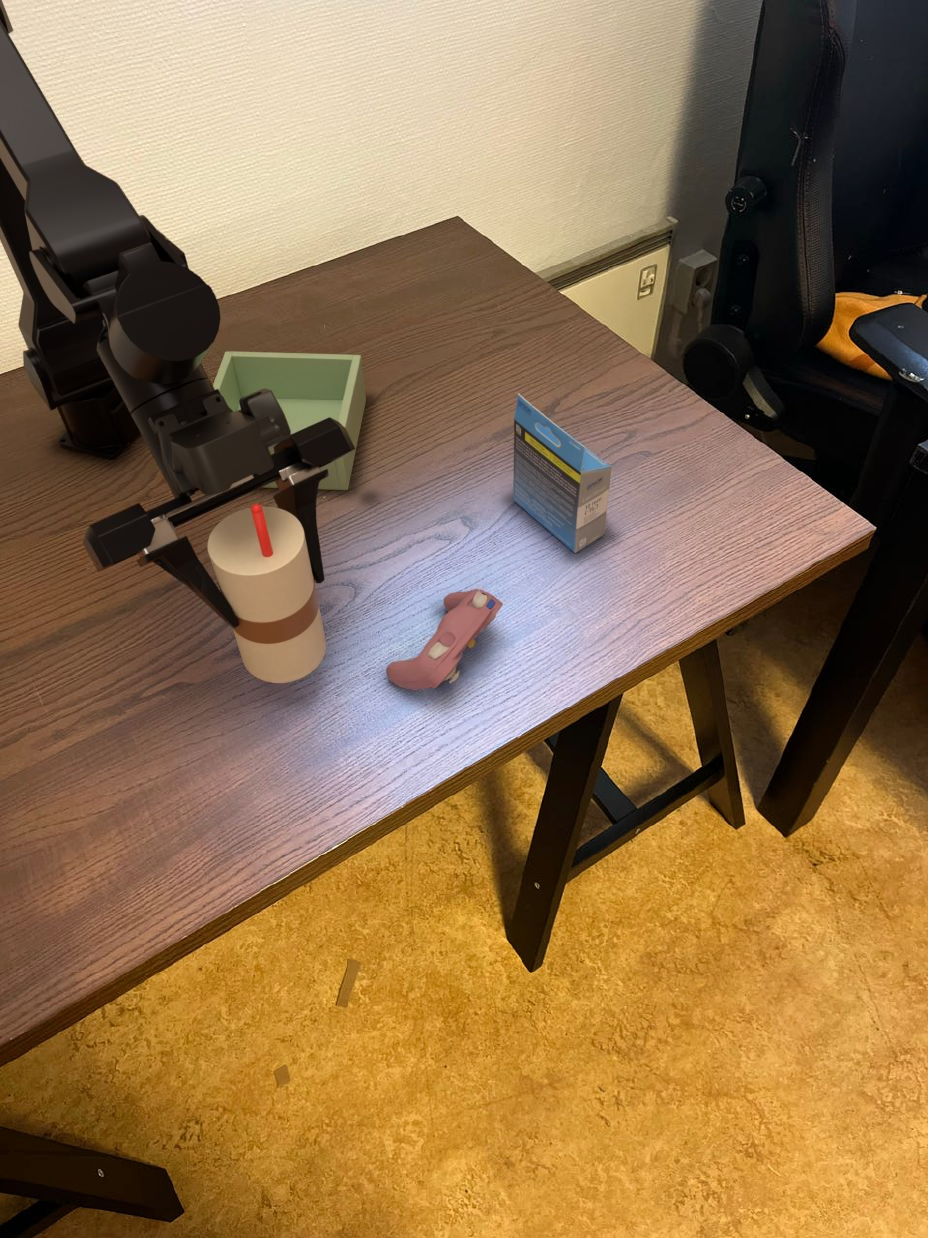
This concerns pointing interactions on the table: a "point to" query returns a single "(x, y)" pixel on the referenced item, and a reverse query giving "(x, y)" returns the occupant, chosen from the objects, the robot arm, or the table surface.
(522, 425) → the label tape box
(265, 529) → the straw cup
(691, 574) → the table surface
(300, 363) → the bin
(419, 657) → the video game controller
